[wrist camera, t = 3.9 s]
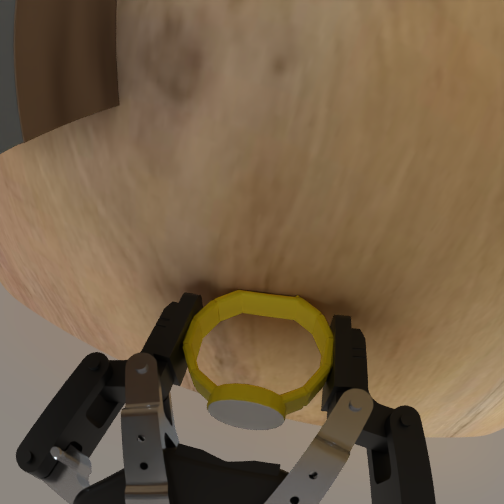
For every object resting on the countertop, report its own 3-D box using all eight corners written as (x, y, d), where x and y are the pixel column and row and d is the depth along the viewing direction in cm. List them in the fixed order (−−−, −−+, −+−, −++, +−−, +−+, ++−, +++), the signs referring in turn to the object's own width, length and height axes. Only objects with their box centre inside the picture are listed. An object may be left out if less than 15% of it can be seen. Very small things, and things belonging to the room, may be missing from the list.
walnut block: (124, -63, 5) (37, -88, 1) (121, 104, 10) (24, 142, 6) (9, 2, 6) (-63, 15, 2) (14, 128, 11) (-55, 166, 7)
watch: (334, 283, 13) (345, 406, 8) (324, 324, 14) (327, 434, 10) (200, 273, 13) (158, 387, 9) (207, 315, 15) (176, 419, 10)
